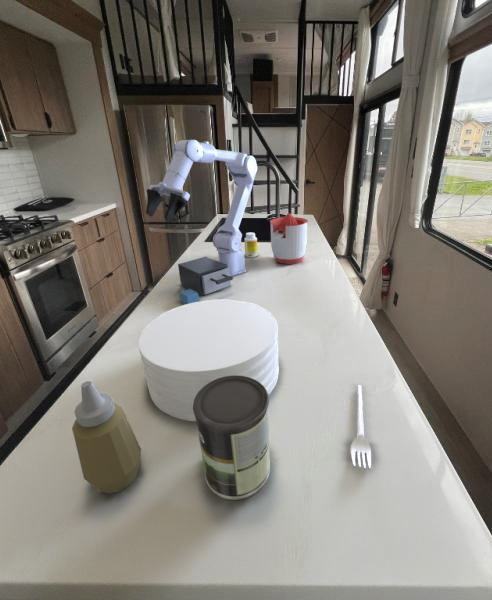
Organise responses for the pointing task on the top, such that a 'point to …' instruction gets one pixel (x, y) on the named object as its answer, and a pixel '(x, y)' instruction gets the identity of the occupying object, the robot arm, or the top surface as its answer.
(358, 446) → the fork
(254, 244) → the supplement bottle
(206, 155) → the robot arm
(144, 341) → the plate stack
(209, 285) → the grey drawer
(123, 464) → the squeeze bottle
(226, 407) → the coffee can
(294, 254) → the citrus juicer
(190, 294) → the block
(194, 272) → the small drawer box
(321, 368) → the top surface
